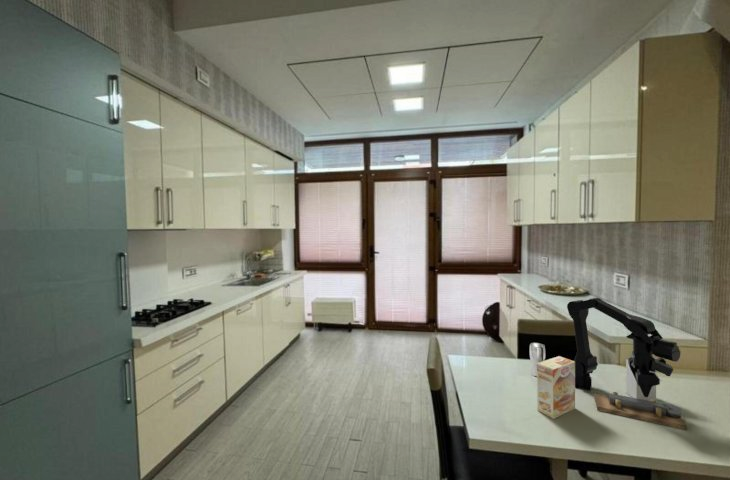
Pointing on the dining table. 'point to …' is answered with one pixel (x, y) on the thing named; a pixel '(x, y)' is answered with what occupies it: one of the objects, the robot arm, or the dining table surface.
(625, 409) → the tool rest
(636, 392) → the milk carton
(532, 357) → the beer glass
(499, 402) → the dining table surface
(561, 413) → the coffeecake box
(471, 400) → the dining table surface
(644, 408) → the grey ball-topped bar
